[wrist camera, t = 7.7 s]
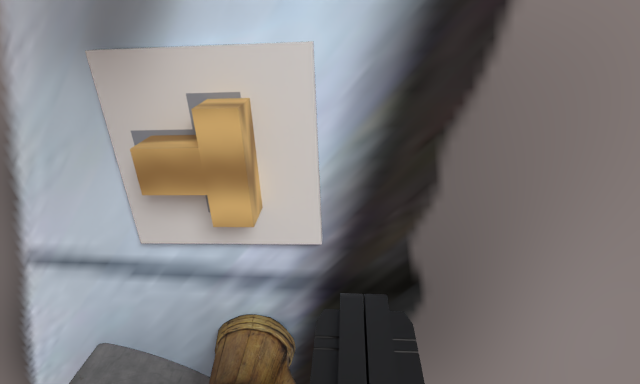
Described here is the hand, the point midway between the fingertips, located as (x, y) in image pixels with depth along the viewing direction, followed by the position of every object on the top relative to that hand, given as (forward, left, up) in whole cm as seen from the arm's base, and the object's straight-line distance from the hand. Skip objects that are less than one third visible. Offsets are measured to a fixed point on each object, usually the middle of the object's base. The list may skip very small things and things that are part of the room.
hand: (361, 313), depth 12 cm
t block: (+2, -13, -21) cm, 24 cm away
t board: (+2, -12, -22) cm, 25 cm away
